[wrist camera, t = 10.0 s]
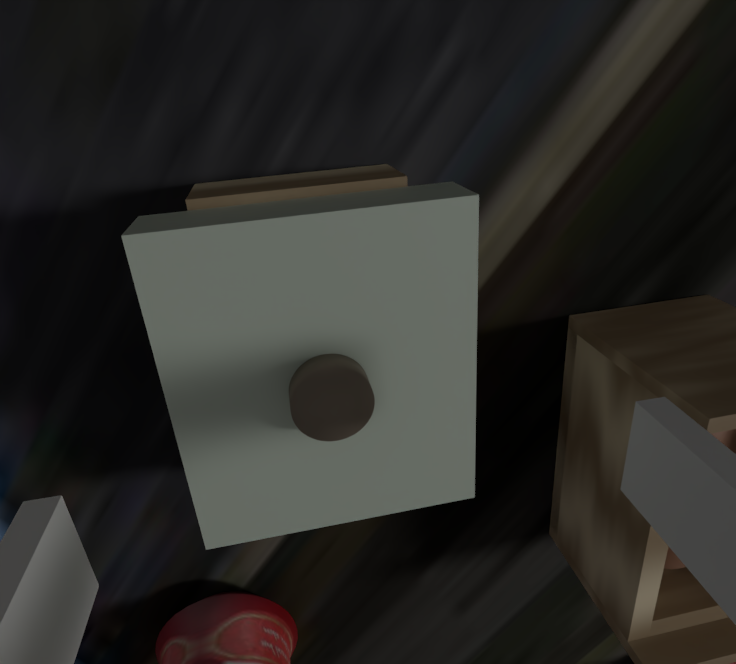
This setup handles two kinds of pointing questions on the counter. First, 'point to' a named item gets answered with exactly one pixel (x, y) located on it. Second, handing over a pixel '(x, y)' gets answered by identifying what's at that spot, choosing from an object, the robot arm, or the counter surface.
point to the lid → (316, 354)
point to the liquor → (228, 632)
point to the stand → (294, 186)
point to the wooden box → (607, 460)
